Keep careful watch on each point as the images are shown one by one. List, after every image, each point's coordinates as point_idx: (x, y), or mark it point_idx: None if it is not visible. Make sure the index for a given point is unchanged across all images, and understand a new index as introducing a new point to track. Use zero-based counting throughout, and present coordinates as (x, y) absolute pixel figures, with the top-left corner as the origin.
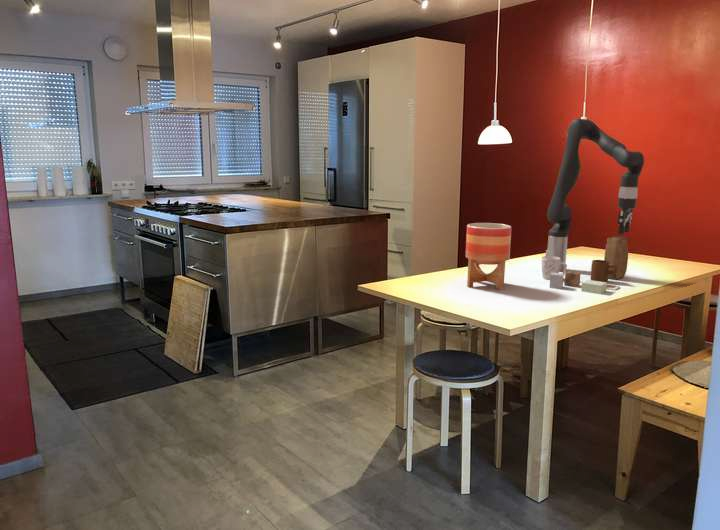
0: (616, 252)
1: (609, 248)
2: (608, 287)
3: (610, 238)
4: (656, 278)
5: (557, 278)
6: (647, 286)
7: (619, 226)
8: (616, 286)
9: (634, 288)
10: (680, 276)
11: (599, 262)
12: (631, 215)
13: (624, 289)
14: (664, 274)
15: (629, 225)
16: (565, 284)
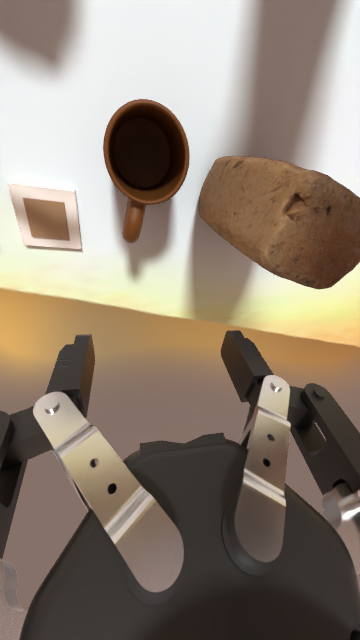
0: (224, 233)
1: (252, 192)
2: (27, 221)
3: (303, 200)
4: (271, 296)
5: None
6: (158, 300)
7: (64, 386)
8: (69, 240)
9: (106, 282)
10: (311, 327)
11: (105, 159)
12: (316, 481)
13: (68, 263)
14: (326, 300)
15: (241, 394)
16: None
